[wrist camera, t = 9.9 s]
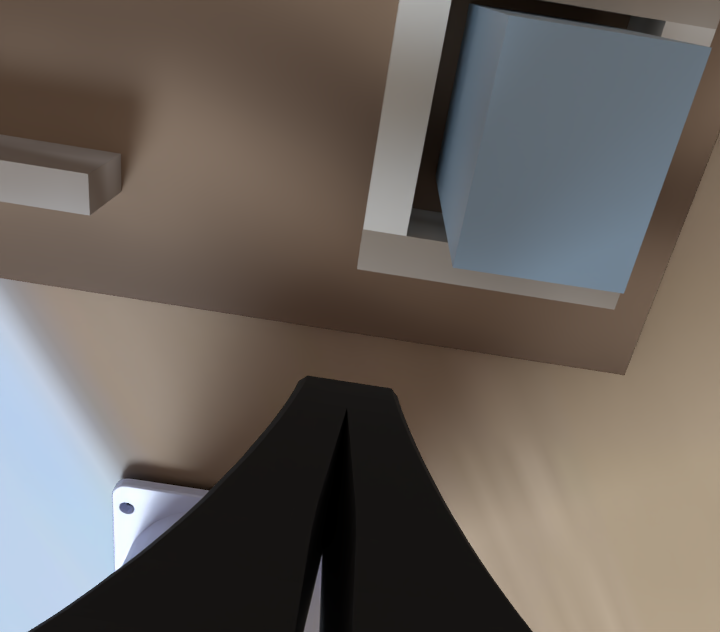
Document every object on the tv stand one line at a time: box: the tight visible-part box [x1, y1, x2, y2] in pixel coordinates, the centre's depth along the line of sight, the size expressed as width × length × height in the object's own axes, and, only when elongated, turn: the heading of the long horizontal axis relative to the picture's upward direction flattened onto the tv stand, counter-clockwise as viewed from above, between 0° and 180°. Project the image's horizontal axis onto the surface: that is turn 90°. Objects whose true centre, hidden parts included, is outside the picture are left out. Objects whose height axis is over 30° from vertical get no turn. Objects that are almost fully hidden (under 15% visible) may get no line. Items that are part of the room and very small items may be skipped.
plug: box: [435, 3, 712, 294], centre depth 13 cm, size 4×3×6 cm
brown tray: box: [0, 0, 720, 375], centre depth 15 cm, size 13×22×3 cm, turn 82°
